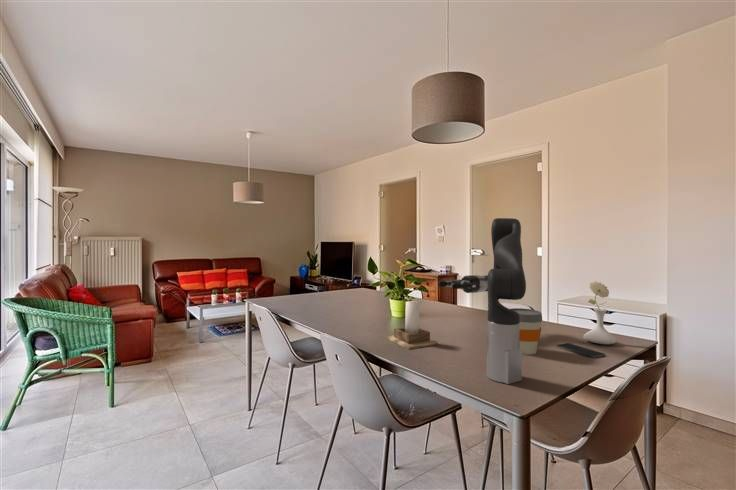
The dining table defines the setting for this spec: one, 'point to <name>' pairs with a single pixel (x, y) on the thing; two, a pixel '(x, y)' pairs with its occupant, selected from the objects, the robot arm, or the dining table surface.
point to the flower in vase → (599, 317)
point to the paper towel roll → (412, 317)
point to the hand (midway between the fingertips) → (445, 285)
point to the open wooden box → (412, 338)
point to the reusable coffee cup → (529, 330)
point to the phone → (580, 350)
